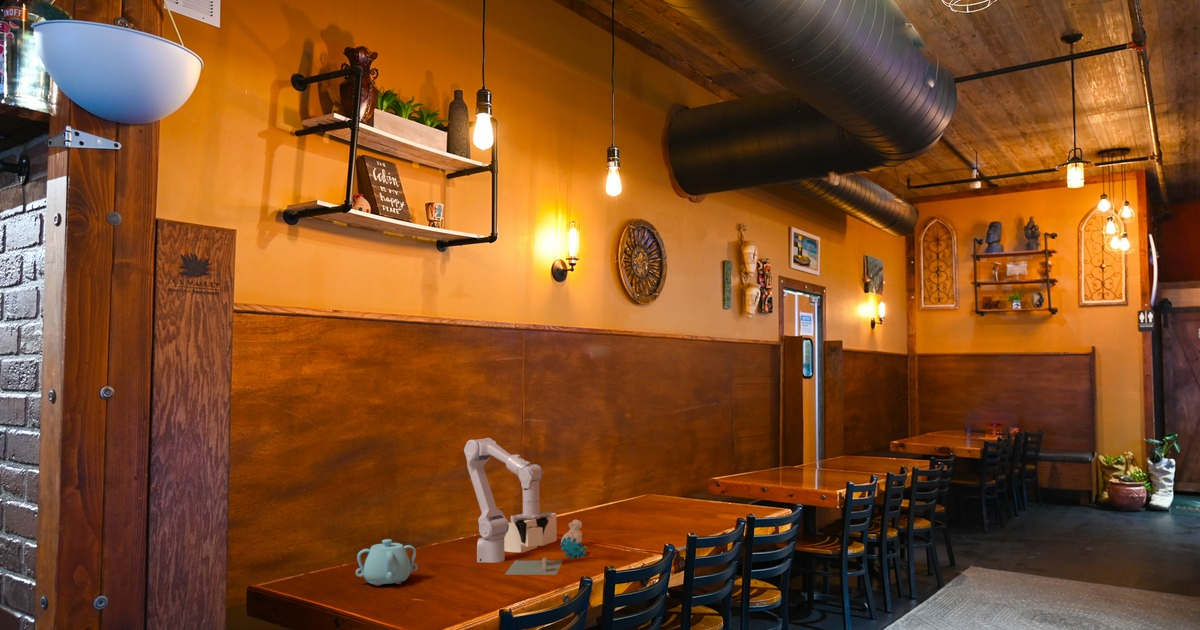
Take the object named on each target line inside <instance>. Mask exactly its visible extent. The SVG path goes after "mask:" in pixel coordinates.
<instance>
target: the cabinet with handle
mask: <svg viewBox="0 0 1200 630" xmlns="http://www.w3.org/2000/svg"><path fill="white" fill-rule="evenodd" d="M521 544H522V545H524V546H527V547H531V546H537V547H538V545H543V528H542V527H539V526H536V525H533V526H526V543H522V542H521ZM543 546H544V545H543Z"/></svg>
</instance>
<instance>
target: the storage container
mask: <svg viewBox="0 0 1200 630" xmlns="http://www.w3.org/2000/svg"><path fill="white" fill-rule="evenodd" d="M547 519H548V524H547V526H546V528H545V530H544V534H543V545H538V546H539V547H542V546H546V545H548V544H552V543H554V542H558V541H557V538H558V537H557V533H558V532H557V513H556V512H552V518H547ZM524 522H525V523H527V526H533V525H536V526H537V523H536V519H534V520H526V521H524ZM508 523H509V530H508V532H507V533H506V537H504V549H505V552H508V553H526V552H529V551H530V550H534V549H537V548H538V546H531V547H527V546H524V545H522V544H521V538H520V534H519V531H518V529H517V527H516V525H515V523H514V522H509V521H508Z"/></svg>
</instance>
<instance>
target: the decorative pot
mask: <svg viewBox="0 0 1200 630" xmlns="http://www.w3.org/2000/svg"><path fill="white" fill-rule="evenodd" d="M381 542H382V543H377V544H372V545H371V547H370V548H364V549H362V550H360V551H359V552H358V553H357V555H356V556H357V557H356V559H357V562H358V566H359V568H357V569H356V570H355V575H356V577H360V578H362V577H363V578H364V580H365V581H366V582H367V583H369V584H371V585H373V586H374V585H382V586H383V585H387V584H394V583H401V582H402V583H403V582H405V581H406V580H407V579H408V578H409V576H410V575H411V573H414V572H416V571H417V570H418V566H419V565H418V564H417V563H414V562H415V559H416V556H417V550H416V548H415V547H414V546H413V545H410V544H407V545H403V544H402V543H399V542H393V539H391V538H388V539H387V538H386V539H383V540H381ZM407 549H411V550H412V556H411V559H410V558H409V555H408V552H407ZM364 553H367V555H366V557H365V559H364V562H362V557H361V555H362V554H364ZM413 566H414V567H413ZM360 571H361V572H360ZM359 572H360V573H359Z"/></svg>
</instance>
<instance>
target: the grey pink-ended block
mask: <svg viewBox="0 0 1200 630" xmlns="http://www.w3.org/2000/svg"><path fill="white" fill-rule="evenodd" d="M541 561H542V572H546V571H547V561H548V558H547V557H542V558H541Z"/></svg>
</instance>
